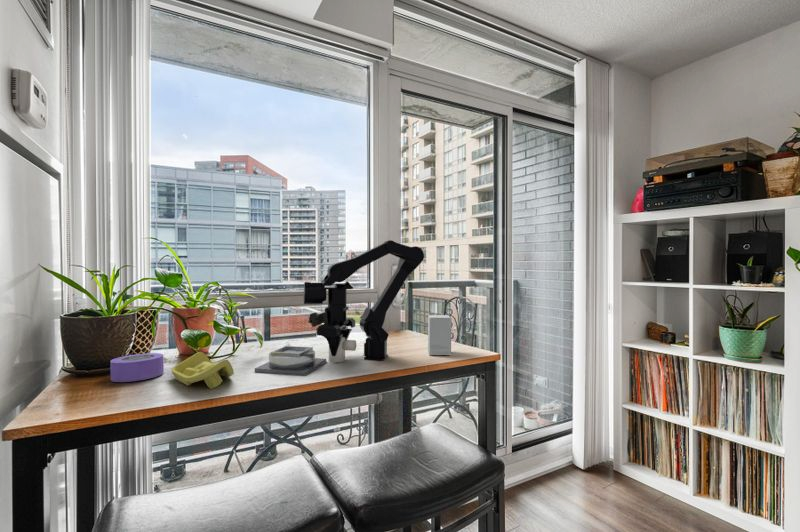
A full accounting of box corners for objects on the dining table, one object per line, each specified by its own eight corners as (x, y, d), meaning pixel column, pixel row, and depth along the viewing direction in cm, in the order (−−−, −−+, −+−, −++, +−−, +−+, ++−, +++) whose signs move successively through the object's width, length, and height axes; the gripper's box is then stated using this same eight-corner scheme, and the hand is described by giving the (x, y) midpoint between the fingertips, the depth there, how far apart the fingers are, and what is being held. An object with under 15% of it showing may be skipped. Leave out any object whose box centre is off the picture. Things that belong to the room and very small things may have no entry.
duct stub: (326, 362, 124) (326, 345, 124) (305, 375, 109) (305, 356, 109) (281, 359, 127) (281, 343, 127) (254, 372, 112) (254, 354, 112)
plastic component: (168, 369, 106) (205, 348, 112) (182, 392, 108) (217, 370, 114) (191, 380, 91) (231, 355, 97) (207, 407, 93) (245, 380, 99)
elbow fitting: (326, 362, 124) (326, 339, 124) (332, 358, 129) (332, 336, 129) (352, 363, 122) (352, 340, 122) (357, 359, 127) (357, 337, 127)
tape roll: (102, 384, 100) (102, 363, 100) (120, 373, 111) (120, 354, 111) (156, 379, 103) (156, 359, 103) (168, 369, 114) (168, 351, 114)
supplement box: (451, 356, 133) (451, 317, 133) (428, 356, 133) (429, 317, 133) (449, 351, 140) (449, 314, 140) (427, 351, 140) (427, 314, 140)
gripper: (324, 300, 136) (323, 346, 136) (299, 306, 118) (299, 359, 118) (355, 301, 134) (355, 348, 134) (336, 307, 116) (335, 361, 116)
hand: (336, 354), depth 126 cm, fingers closed on elbow fitting, 5 cm apart
